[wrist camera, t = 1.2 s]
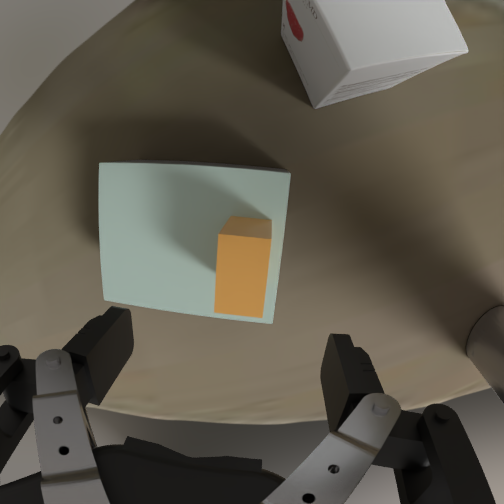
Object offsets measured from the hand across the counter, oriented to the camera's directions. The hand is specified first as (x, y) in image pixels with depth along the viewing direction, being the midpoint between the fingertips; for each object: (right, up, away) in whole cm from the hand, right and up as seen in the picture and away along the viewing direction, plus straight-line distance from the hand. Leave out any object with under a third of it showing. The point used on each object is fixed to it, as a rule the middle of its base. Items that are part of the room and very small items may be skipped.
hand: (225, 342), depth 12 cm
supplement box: (+9, +22, +14) cm, 28 cm away
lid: (-4, +5, +14) cm, 15 cm away
